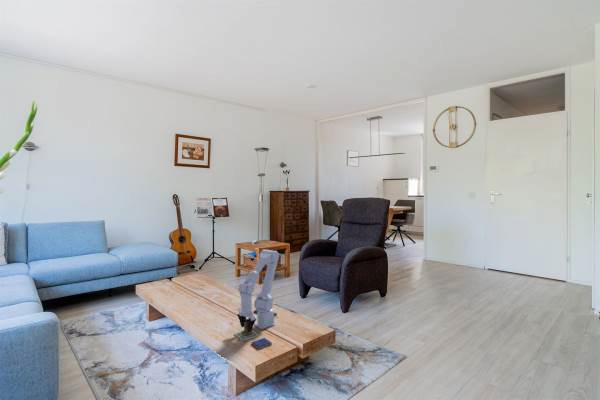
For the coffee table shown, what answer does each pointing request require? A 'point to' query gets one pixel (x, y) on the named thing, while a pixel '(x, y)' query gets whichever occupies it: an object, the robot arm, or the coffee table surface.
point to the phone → (274, 313)
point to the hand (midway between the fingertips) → (246, 329)
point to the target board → (246, 336)
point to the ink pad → (261, 343)
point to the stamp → (246, 330)
